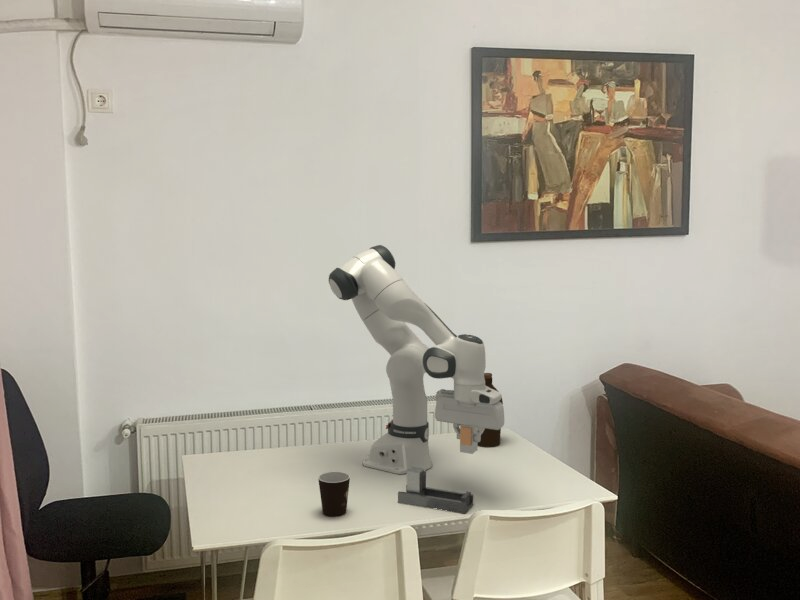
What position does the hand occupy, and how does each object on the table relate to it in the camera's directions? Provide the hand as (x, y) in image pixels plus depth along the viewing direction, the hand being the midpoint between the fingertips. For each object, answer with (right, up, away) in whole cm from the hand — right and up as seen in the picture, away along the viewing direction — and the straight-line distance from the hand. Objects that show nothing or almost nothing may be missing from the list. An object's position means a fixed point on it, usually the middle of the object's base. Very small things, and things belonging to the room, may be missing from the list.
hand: (468, 440), depth 218 cm
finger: (0, -3, +1) cm, 3 cm away
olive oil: (+11, -11, +52) cm, 55 cm away
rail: (-9, -17, -3) cm, 20 cm away
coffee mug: (-37, -18, -7) cm, 42 cm away
